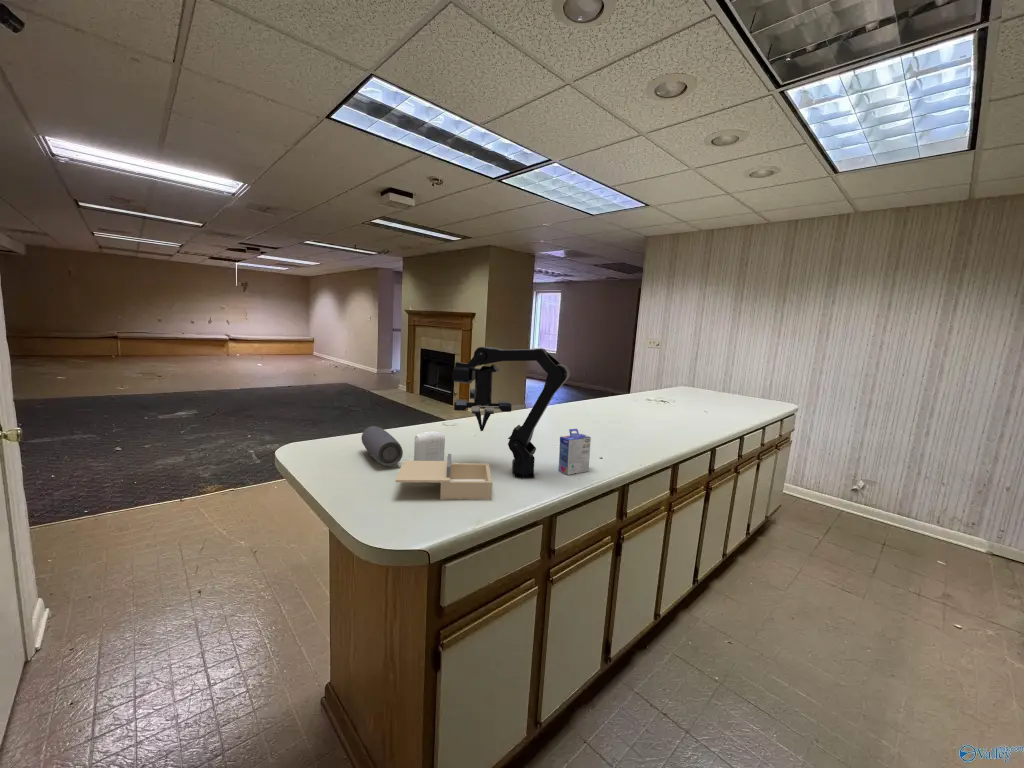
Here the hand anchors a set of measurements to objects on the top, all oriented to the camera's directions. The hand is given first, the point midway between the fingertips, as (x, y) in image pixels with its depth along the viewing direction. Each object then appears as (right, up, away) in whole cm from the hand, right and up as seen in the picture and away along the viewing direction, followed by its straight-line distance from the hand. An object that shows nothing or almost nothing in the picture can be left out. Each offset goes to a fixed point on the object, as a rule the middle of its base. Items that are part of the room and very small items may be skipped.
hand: (481, 430), depth 139 cm
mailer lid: (-15, -10, -19) cm, 26 cm away
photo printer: (-18, -13, 0) cm, 22 cm away
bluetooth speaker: (-35, -11, +5) cm, 37 cm away
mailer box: (-4, -15, -17) cm, 23 cm away
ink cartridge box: (+31, -15, +4) cm, 35 cm away
